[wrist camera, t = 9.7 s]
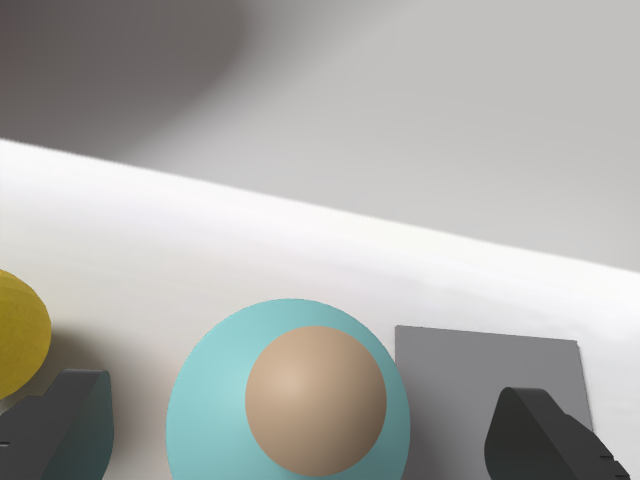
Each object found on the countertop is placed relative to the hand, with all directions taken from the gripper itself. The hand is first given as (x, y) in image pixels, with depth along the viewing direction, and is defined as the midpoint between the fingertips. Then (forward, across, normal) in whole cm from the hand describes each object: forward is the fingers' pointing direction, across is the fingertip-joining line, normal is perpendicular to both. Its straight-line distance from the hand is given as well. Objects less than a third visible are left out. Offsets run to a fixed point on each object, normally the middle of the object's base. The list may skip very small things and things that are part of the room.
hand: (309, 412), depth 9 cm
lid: (+7, 0, +6) cm, 9 cm away
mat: (+9, -11, +9) cm, 17 cm away
